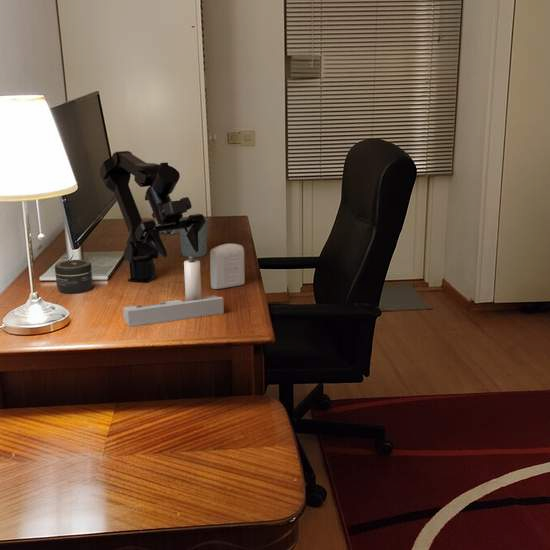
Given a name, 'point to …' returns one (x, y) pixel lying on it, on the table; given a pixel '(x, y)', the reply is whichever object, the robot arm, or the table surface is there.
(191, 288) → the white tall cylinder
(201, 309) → the cable duct
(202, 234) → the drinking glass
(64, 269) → the jar
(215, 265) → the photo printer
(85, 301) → the table surface
